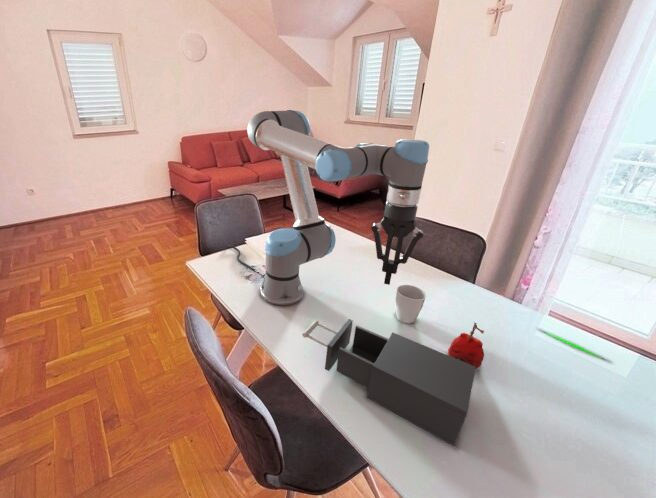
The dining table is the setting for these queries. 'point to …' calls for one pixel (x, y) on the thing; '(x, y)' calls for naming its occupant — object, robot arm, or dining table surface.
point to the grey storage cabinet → (422, 386)
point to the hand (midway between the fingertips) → (387, 281)
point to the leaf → (574, 345)
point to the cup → (409, 302)
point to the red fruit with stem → (467, 348)
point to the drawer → (351, 351)
